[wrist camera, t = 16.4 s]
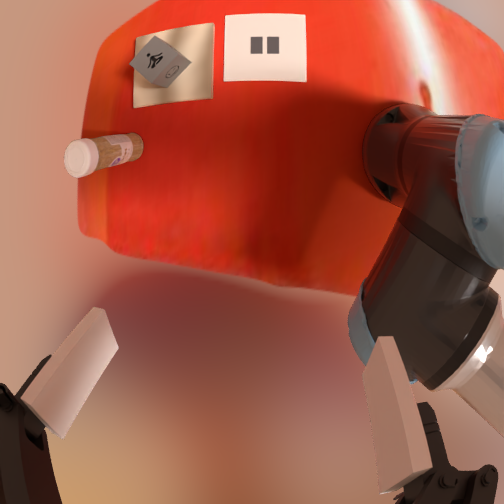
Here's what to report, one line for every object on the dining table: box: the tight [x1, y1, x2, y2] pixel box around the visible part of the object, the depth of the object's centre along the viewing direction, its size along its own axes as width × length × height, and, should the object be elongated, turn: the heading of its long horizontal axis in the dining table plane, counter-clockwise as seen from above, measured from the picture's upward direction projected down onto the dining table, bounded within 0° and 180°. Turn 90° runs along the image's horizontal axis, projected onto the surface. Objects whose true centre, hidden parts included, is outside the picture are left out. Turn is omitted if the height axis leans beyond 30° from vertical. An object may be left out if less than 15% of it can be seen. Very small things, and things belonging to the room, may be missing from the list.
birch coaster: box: [133, 23, 215, 108], centre depth 30 cm, size 12×12×1 cm
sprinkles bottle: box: [64, 133, 144, 178], centre depth 30 cm, size 5×5×13 cm
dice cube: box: [129, 35, 192, 88], centre depth 27 cm, size 5×5×5 cm
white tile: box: [224, 14, 306, 82], centre depth 28 cm, size 11×11×1 cm
